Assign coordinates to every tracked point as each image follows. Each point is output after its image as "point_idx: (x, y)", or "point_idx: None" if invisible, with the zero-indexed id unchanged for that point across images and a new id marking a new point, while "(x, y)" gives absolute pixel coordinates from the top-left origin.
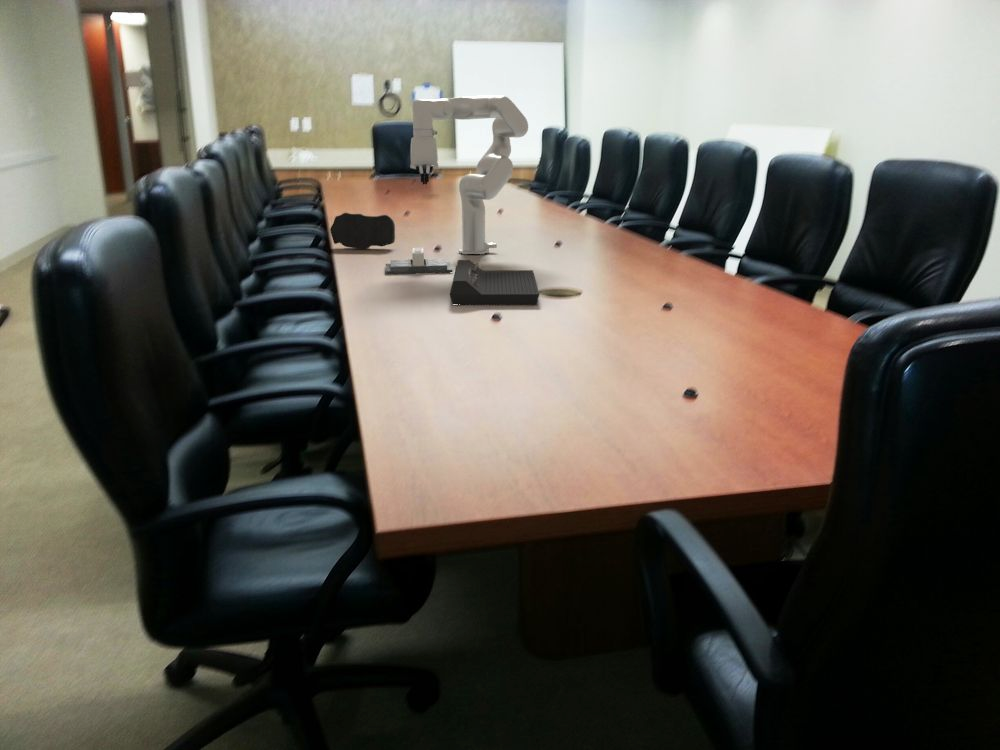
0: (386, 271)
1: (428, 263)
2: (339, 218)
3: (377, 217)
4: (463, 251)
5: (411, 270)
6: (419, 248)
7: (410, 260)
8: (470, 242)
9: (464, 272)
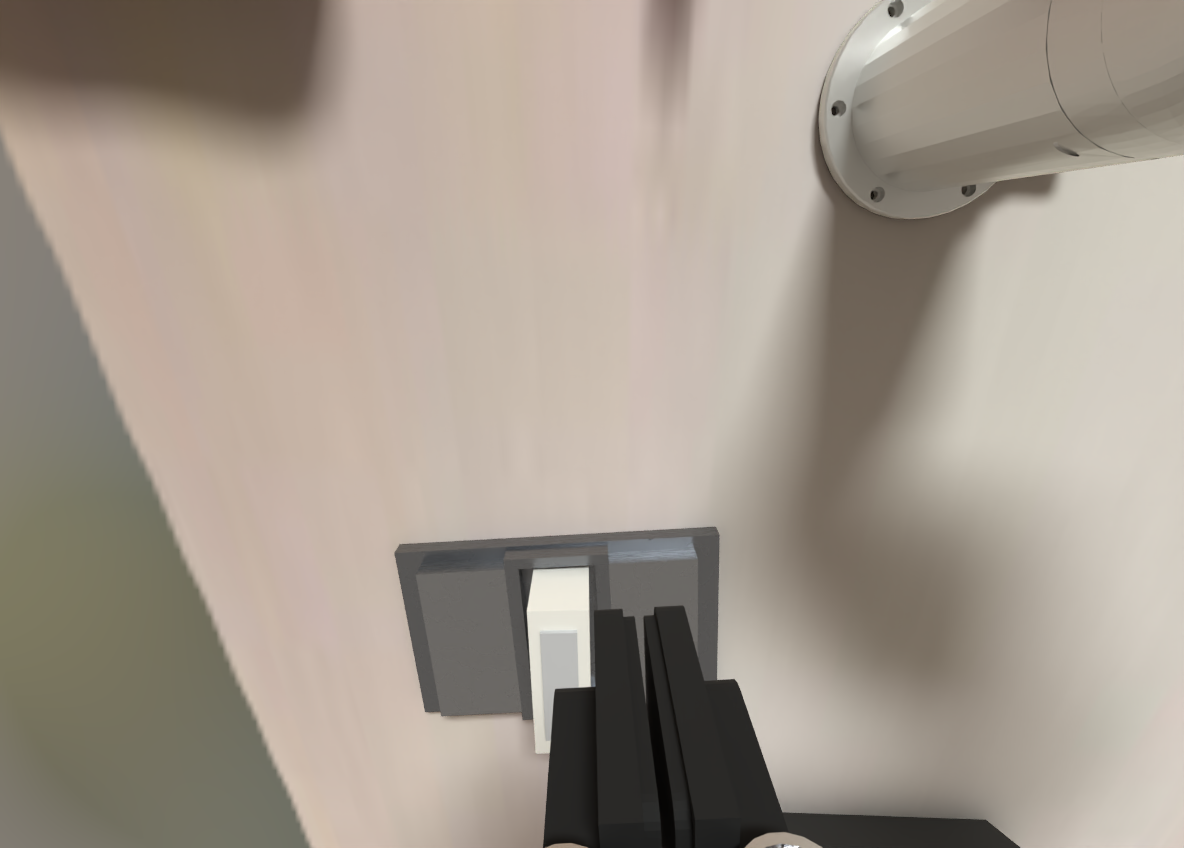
0: (429, 711)
1: None
2: None
3: None
4: (847, 178)
5: None
6: (567, 660)
7: (520, 588)
8: (930, 180)
9: None
